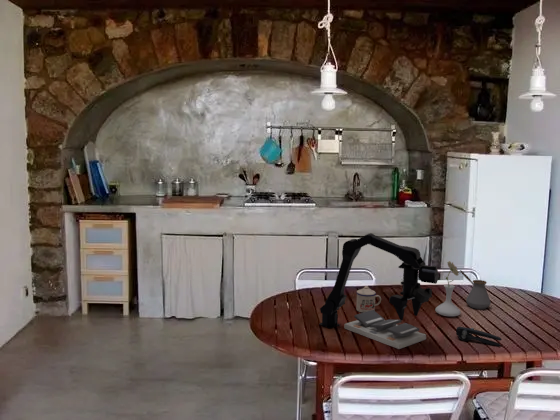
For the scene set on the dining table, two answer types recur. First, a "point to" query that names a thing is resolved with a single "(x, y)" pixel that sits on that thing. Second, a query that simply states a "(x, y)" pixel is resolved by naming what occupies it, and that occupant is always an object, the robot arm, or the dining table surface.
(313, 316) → the dining table surface
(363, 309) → the teacup with lid
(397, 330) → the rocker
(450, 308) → the flower in vase
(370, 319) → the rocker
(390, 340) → the switch panel
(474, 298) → the coffee pot
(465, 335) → the can opener
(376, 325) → the panel
